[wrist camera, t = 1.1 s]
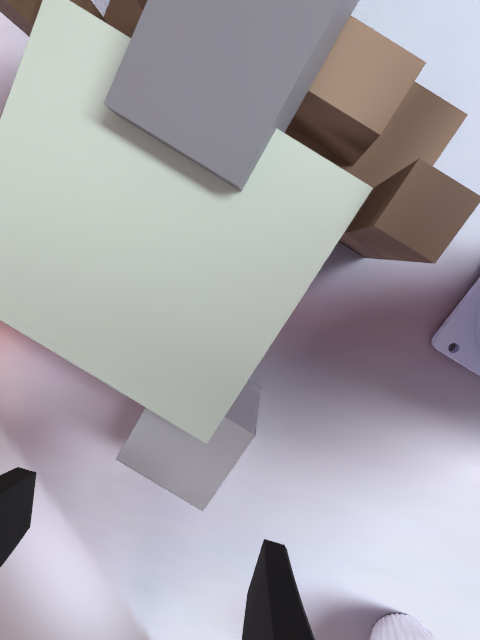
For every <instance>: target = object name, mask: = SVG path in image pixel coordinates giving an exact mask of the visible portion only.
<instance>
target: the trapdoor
mask: <svg viewBox="0 0 480 640" xmlns="http://www.w3.org/2000/svg"><path fill="white" fill-rule="evenodd" d="M358 1H359V0H147V2H146V5H145V7H144V10H143V12H142V14H141V17H140V19H139V21H138V24H137V26H136V28H135V31H134V33H133V35H132V38H130V37H128V36H126V35H125V34H123V33H121V32H120V31H118V30H117V29H115V28H113V27H112V26H110V25H108V24H107V23H105V22H104V21H102V20H100V19H99V18H97V17H96V16H94V15H92V14H91V13H89V12H87V11H86V10H84V9H83V8H81V7H79V6H78V5H76V4H74V3H73V2H71V1H70V0H43V1H42V3H41V6H40V9H39V12H38V15H37V18H36V20H35V23H34V26H33V29H32V32H31V34H30V37H29V40H28V43H27V46H26V48H25V51H24V54H23V57H22V60H21V62H20V65H19V68H18V71H17V74H16V76H15V79H14V82H13V85H12V88H11V91H10V93H9V96H8V99H7V102H6V105H5V107H4V110H3V113H2V116H1V119H0V320H1V321H2V322H4V323H6V324H7V325H9V326H11V327H12V328H14V329H16V330H17V331H19V332H21V333H22V334H24V335H26V336H27V337H29V338H31V339H32V340H34V341H36V342H37V343H39V344H41V345H42V346H44V347H46V348H47V349H49V350H51V351H52V352H54V353H56V354H57V355H59V356H61V357H62V358H64V359H66V360H67V361H69V362H71V363H72V364H74V365H76V366H77V367H79V368H81V369H82V370H84V371H86V372H87V373H89V374H91V375H92V376H94V377H96V378H97V379H99V380H101V381H102V382H104V383H106V384H107V385H109V386H111V387H112V388H114V389H116V390H117V391H119V392H121V393H122V394H124V395H126V396H127V397H129V398H131V399H132V400H134V401H136V402H137V403H139V404H141V405H142V406H144V407H146V408H147V409H149V410H151V411H152V412H154V413H156V414H157V415H159V416H161V417H162V418H164V419H166V420H167V421H169V422H171V423H172V424H174V425H176V426H177V427H179V428H181V429H182V430H184V431H186V432H187V433H189V434H191V435H192V436H194V437H196V438H197V439H199V440H201V441H202V442H204V443H206V444H207V443H208V441H209V440H210V438H211V437H212V435H213V434H214V432H215V430H216V429H217V427H218V426H219V424H220V423H221V421H222V420H223V418H224V417H225V415H226V414H227V412H228V410H229V409H230V407H231V406H232V404H233V403H234V401H235V400H236V398H237V397H238V395H239V394H240V392H241V390H242V389H243V387H244V386H245V384H246V383H247V381H248V380H249V378H250V377H251V375H252V374H253V372H254V370H255V369H256V367H257V366H258V364H259V363H260V361H261V360H262V358H263V357H264V355H265V354H266V352H267V350H268V349H269V347H270V346H271V344H272V343H273V341H274V340H275V338H276V337H277V335H278V334H279V332H280V330H281V329H282V327H283V326H284V324H285V323H286V321H287V320H288V318H289V317H290V315H291V314H292V312H293V310H294V309H295V307H296V306H297V304H298V303H299V301H300V300H301V298H302V297H303V295H304V294H305V292H306V290H307V289H308V287H309V286H310V284H311V283H312V281H313V280H314V278H315V277H316V275H317V274H318V272H319V271H320V269H321V267H322V266H323V264H324V263H325V261H326V260H327V258H328V257H329V255H330V254H331V252H332V251H333V249H334V247H335V246H336V244H337V243H338V241H339V240H340V238H341V237H342V235H343V234H344V232H345V231H346V229H347V227H348V226H349V224H350V223H351V221H352V220H353V218H354V217H355V215H356V214H357V212H358V211H359V209H360V207H361V206H362V204H363V203H364V201H365V200H366V198H367V197H368V195H369V194H370V192H371V191H372V189H373V188H372V187H371V186H369V185H368V184H366V183H364V182H363V181H361V180H359V179H358V178H356V177H355V176H353V175H351V174H350V173H348V172H347V171H345V170H343V169H342V168H340V167H338V166H337V165H335V164H334V163H332V162H330V161H329V160H327V159H325V158H324V157H322V156H321V155H319V154H317V153H316V152H314V151H313V150H311V149H309V148H308V147H306V146H304V145H303V144H301V143H300V142H298V141H296V140H295V139H293V138H291V137H290V136H288V135H287V134H285V131H286V129H287V128H288V126H289V124H290V122H291V120H292V119H293V117H294V115H295V113H296V111H297V110H298V108H299V106H300V104H301V103H302V101H303V99H304V97H305V95H306V94H307V92H308V90H309V88H310V87H311V85H312V83H313V81H314V79H315V78H316V76H317V74H318V72H319V71H320V69H321V67H322V65H323V63H324V62H325V60H326V58H327V56H328V55H329V53H330V51H331V49H332V47H333V46H334V44H335V42H336V40H337V38H338V37H339V35H340V33H341V31H342V30H343V28H344V26H345V24H346V22H347V21H348V19H349V17H350V15H351V14H352V12H353V10H354V8H355V6H356V5H357V3H358Z"/></svg>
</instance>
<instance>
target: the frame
mask: <svg viewBox="0 0 480 640" xmlns="http://www.w3.org/2000/svg"><path fill="white" fill-rule="evenodd" d="M42 1H43V0H0V12H1V13H3V14H4V15H5V16H6V17H7V18H8V19H9V20H11V21H12V22H13V23H14V24H15V25H16V26H18V27H19V28H20V29H21V30H22V31H23V32H25V33H26V34H27V35H28V36H29V37H30V34H31V32H32V29H33V26H34V23H35V20H36V18H37V15H38V12H39V9H40V6H41V3H42ZM70 1H71V2H73V3H74V4H76V5H78V6H79V7H81V8H83V9H84V10H86V11H87V12H89V13H91V14H92V15H94V16H96V17H97V18H99V19H100V20H102V21H104V22H105V23H107V24H108V25H110V26H112V27H113V28H115V29H117V30H118V31H120V32H121V33H123V34H125V35H126V36H128V37H130V38H132V35H133V33H134V31H135V28H136V26H137V24H138V21H139V19H140V17H141V14H142V12H143V10H144V7H145V5H146V2H147V0H110V3H109V5H108V8H107V10H106V13H105V15H104V18H103V16H102V15H101V13H100V12H99V11H98V9H97V8H96V7H95V5H94V4H93V3H92V1H91V0H70ZM425 64H426V62H424V61H423V60H421V59H420V58H418V57H416V56H415V55H413V54H412V53H410V52H408V51H407V50H405V49H404V48H402V47H400V46H399V45H397V44H396V43H394V42H392V41H391V40H389V39H388V38H386V37H384V36H383V35H381V34H380V33H378V32H376V31H375V30H373V29H372V28H370V27H368V26H367V25H365V24H364V23H362V22H360V21H359V20H357V19H356V18H354V17H352V16H351V15H350V17H349V19H348V21H347V22H346V24H345V26H344V28H343V30H342V31H341V33H340V35H339V37H338V38H337V40H336V42H335V44H334V46H333V47H332V49H331V51H330V53H329V55H328V56H327V58H326V60H325V62H324V63H323V65H322V67H321V69H320V71H319V72H318V74H317V76H316V78H315V79H314V81H313V83H312V85H311V87H310V88H309V90H308V92H307V94H306V95H305V97H304V99H303V101H302V103H301V104H300V106H299V108H298V110H297V111H296V113H295V115H294V117H293V119H292V120H291V122H290V124H289V126H288V128H287V129H286V131H285V134H287V135H288V136H290V137H291V138H293V139H295V140H296V141H298V142H300V143H301V144H303V145H304V146H306V147H308V148H309V149H311V150H313V151H314V152H316V153H317V154H319V155H321V156H322V157H324V158H325V159H327V160H329V161H330V162H332V163H334V164H335V165H337V166H338V167H340V168H342V169H343V170H345V171H347V172H348V173H350V174H351V175H353V176H355V177H356V178H358V179H359V180H361V181H363V182H364V183H366V184H368V185H369V186H371V187H372V188H373V189H372V191H371V192H370V194H369V195H368V197H367V198H366V200H365V201H364V203H363V204H362V206H361V207H360V209H359V211H358V212H357V214H356V215H355V217H354V218H353V220H352V221H351V223H350V224H349V226H348V227H347V229H346V231H345V232H344V234H343V235H342V237H341V238H340V240H339V242H341V243H342V244H344V245H346V246H347V247H349V248H350V249H352V250H354V251H355V252H357V253H359V254H360V255H362V256H363V257H365V258H375V259H387V260H399V261H412V262H424V263H436V261H437V260H438V258H439V257H440V256H441V254H442V253H443V252H444V250H445V249H446V248H447V246H448V245H449V244H450V242H451V241H452V239H453V238H454V237H455V235H456V234H457V233H458V231H459V230H460V229H461V227H462V226H463V225H464V223H465V222H466V220H467V219H468V218H469V216H470V215H471V214H472V212H473V211H474V210H475V208H476V207H477V206H478V204H479V203H480V196H479V195H478V194H476V193H474V192H473V191H471V190H470V189H468V188H466V187H465V186H463V185H462V184H460V183H458V182H457V181H455V180H454V179H452V178H450V177H449V176H447V175H445V174H444V173H442V172H441V171H439V170H437V169H436V168H434V167H433V165H434V163H435V162H436V160H437V159H438V158H439V156H440V155H441V153H442V152H443V150H444V149H445V147H446V146H447V144H448V143H449V141H450V140H451V139H452V137H453V136H454V134H455V133H456V131H457V130H458V128H459V127H460V125H461V124H462V122H463V121H464V119H465V118H466V117H467V114H466V113H464V112H463V111H461V110H459V109H458V108H456V107H455V106H453V105H451V104H450V103H448V102H447V101H445V100H443V99H442V98H440V97H439V96H437V95H435V94H434V93H432V92H431V91H429V90H427V89H426V88H424V87H423V86H421V85H419V84H418V83H416V82H415V79H416V78H417V76H418V75H419V73H420V72H421V70H422V68H423V67H424V65H425Z"/></svg>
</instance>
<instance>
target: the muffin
mask: <svg viewBox="0 0 480 640" xmlns="http://www.w3.org/2000/svg"><path fill="white" fill-rule="evenodd" d="M370 640H438V639H437V638H436V637H435V636H434V635H433V634H432V633H431V632H430V631H429V630H428V629H427V628H426V627H425V626H424V625H423V624H422V623H421V622H420V621H418V620H417V619H416V618H413V617H412V616H409V615H404V614H398V613H396V614H391V615H386V617H382V619H379V620H378V622H376V623H375V626H374V627H373V629H372V633H371V637H370Z"/></svg>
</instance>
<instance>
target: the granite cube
mask: <svg viewBox="0 0 480 640" xmlns="http://www.w3.org/2000/svg"><path fill="white" fill-rule="evenodd" d="M260 389H261V388H260V387H259V386H257V385H255V384H254V383H252V382H250V381H249V380H248V381H247V383H246V384H245V386H244V387H243V389H242V390H241V392H240V394H239V395H238V397H237V398H236V400H235V401H234V403H233V404H232V406H231V407H230V409H229V410H228V412H227V414H226V415H225V417H224V418H223V420H222V421H221V423H220V424H219V426H218V427H217V429H216V430H215V432H214V434H213V435H212V437H211V438H210V440H209V441H208V443H207V444H206V443H204V442H202V441H201V440H199V439H197V438H196V437H194V436H192V435H191V434H189V433H187V432H186V431H184V430H182V429H181V428H179V427H177V426H176V425H174V424H172V423H171V422H169V421H167V420H166V419H164V418H162V417H161V416H159V415H157V414H156V413H154V412H152V411H151V410H149V409H147V408H145V409H144V411H143V413H142V414H141V416H140V418H139V420H138V421H137V423H136V425H135V427H134V428H133V430H132V432H131V434H130V435H129V437H128V439H127V441H126V442H125V444H124V446H123V447H122V449H121V451H120V453H119V454H118V456H117V458H116V460H118V461H119V462H121V463H123V464H124V465H126V466H128V467H129V468H131V469H133V470H134V471H136V472H138V473H139V474H141V475H143V476H144V477H146V478H148V479H149V480H151V481H153V482H154V483H156V484H158V485H159V486H161V487H163V488H164V489H166V490H168V491H169V492H171V493H173V494H174V495H176V496H178V497H180V498H181V499H183V500H185V501H186V502H188V503H190V504H191V505H193V506H195V507H196V508H198V509H200V510H201V511H203V510H204V509H205V507H206V506H207V504H208V503H209V501H210V500H211V499H212V497H213V496H214V494H215V493H216V491H217V490H218V488H219V487H220V485H221V484H222V483H223V481H224V480H225V478H226V477H227V475H228V474H229V472H230V471H231V469H232V468H233V467H234V465H235V464H236V462H237V461H238V459H239V458H240V456H241V455H242V454H243V452H244V451H245V449H246V448H247V446H248V445H249V443H250V442H251V440H252V439H253V438H254V436H255V432H256V424H257V415H258V406H259V398H260Z"/></svg>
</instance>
